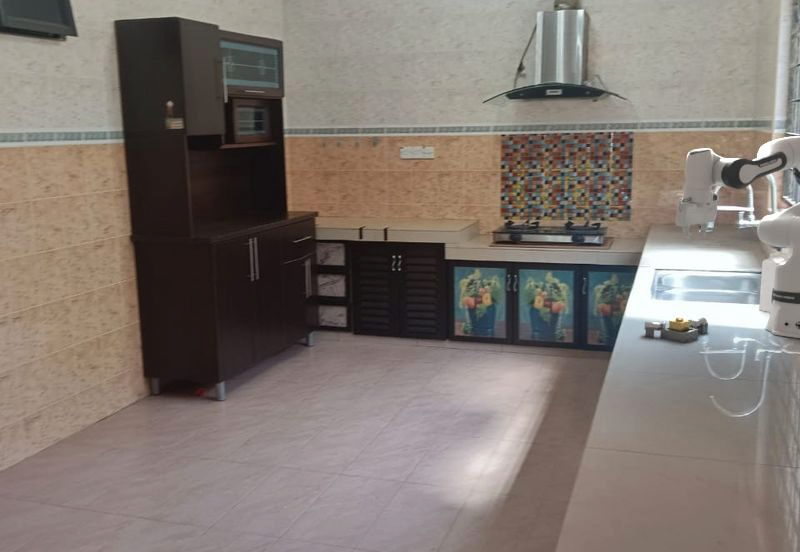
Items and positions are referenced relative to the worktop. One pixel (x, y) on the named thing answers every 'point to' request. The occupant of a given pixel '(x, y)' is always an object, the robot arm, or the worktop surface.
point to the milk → (768, 280)
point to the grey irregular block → (699, 325)
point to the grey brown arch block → (653, 328)
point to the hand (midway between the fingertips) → (694, 237)
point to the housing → (679, 335)
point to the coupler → (679, 325)
